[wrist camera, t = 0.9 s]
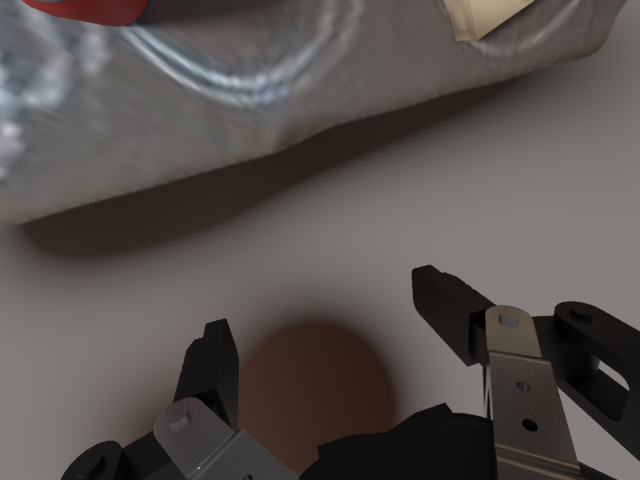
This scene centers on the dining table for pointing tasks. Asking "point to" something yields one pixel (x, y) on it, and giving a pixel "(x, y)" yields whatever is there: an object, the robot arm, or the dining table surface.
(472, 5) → the keyhole board
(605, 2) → the dining table surface
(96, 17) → the beer can
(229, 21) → the dining table surface
